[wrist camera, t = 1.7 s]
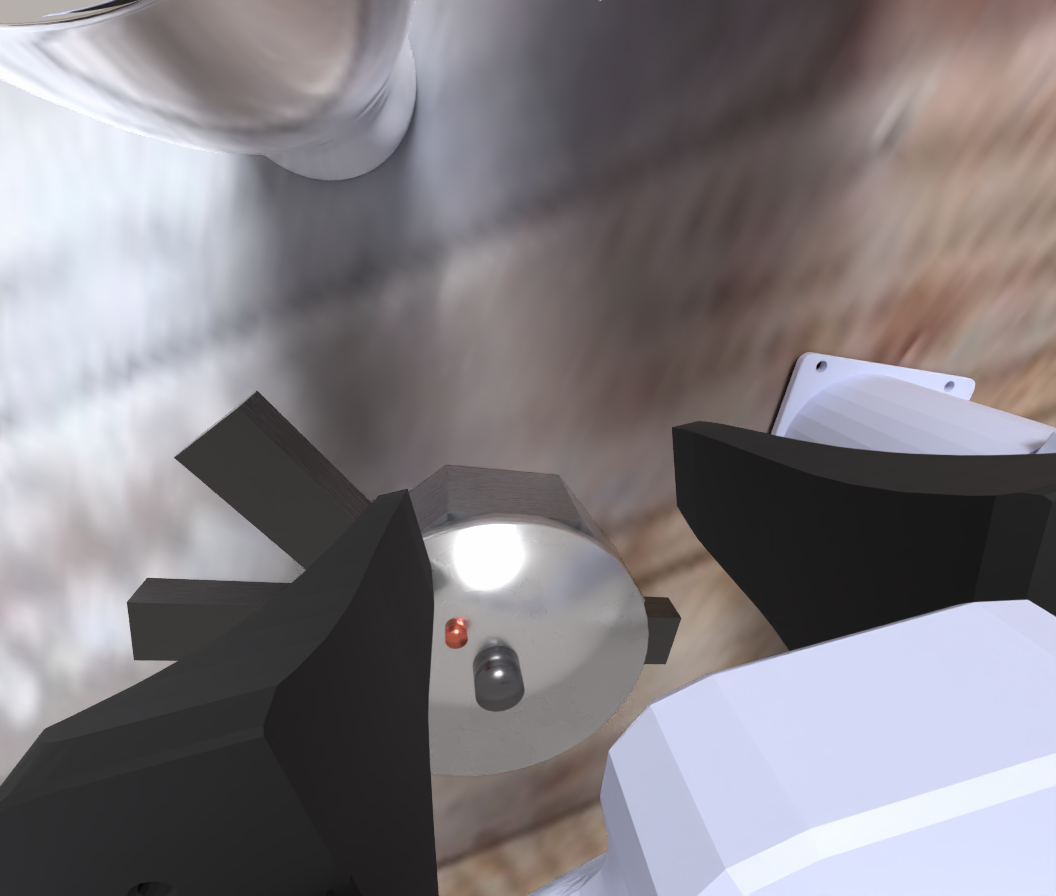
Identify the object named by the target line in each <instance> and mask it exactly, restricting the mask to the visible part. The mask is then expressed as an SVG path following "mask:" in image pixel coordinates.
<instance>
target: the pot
mask: <svg viewBox="0 0 1056 896" xmlns="http://www.w3.org/2000/svg"><path fill="white" fill-rule="evenodd" d="M409 495H410V498H411V501H412V505H413V508H414V511H415V515H416V518H417V521H418V524H419V528H420V531H421V532H422V531H424V530H427V529H429V528H431V527H434V526H437V525H440V524H443V523H446V522H449V521H452V520H456V519H461V518H465V517H470V516H475V515H485V514H494V513H516V514H526V515H534V516H541V517H545V518H549V519H553V520H556V521H560V522H563V523H565V524H568V525H570V526H573V527H575V528H578V529H580V530H582V531H583V532H585V533H587V534H588V535H590V536H592V537H594V538H595V539H597V540H598V541H599V542H600V543H602V544H603V545H604V546H605V547H607V548H608V549H609V550H610V551H611V552H612V553H613V554H614V555H615V556H616V557H617V558H618V560H619V561H620V562H621V563H622V565H623V566H624V568H625V569H626V571H627V572H628V574H629V575H630V577H631V579H632V580H633V578H632V576H631V574H630V573H629V571H628V569H627V568H626V566H625V564H624V562H623V561H622V559H621V557H620V555H619V554H618V552H617V550H616V549H615V547H614V546H613V545H612V543H611V542H610V541H609V539H608V538H607V537H606V536H605V534H604V533H603V532H602V530H601V529H600V528H599V526H598V525H597V524H596V523H595V521H594V520H593V519H592V517H591V516H590V515H589V514H588V512H587V511H586V510H585V508H584V507H583V506H582V505H581V503H580V502H579V501H578V499H577V498H576V497H575V496H574V494H573V493H572V492H571V490H570V489H569V488H568V487H567V485H566V484H565V483H564V481H563V480H562V479H561V478H560V476H559V475H552V474H541V473H530V472H519V471H508V470H496V469H485V468H474V467H463V466H452V465H446V466H444V467H443V468H442V469H440V470H439V471H438V472H436V473H435V474H433V475H432V476H431V477H429V478H428V479H427V480H425V481H424V482H423V483H421V484H420V485H418V486H417V487H416V488H414V489H413V490H412V491H410V492H409ZM633 582H634V584H635V585H636V583H635V581H634V580H633ZM290 584H291V583H269V582H242V581H216V580H189V579H163V578H147V579H146V580H145V581H144V582H143V584H142V585H141V586H140V587H139V588H138V590H137V591H136V592H135V593H134V594H133V596H132V597H131V598H130V599H129V600H128V602H127V606H128V615H129V623H130V631H131V639H132V647H133V655H134V660H167V661H179V660H181V659H183V658H184V657H186V656H188V655H189V654H191V653H193V652H194V651H196V650H198V649H199V648H201V647H203V646H204V645H206V644H207V643H209V642H211V641H212V640H214V639H215V638H217V637H218V636H220V635H221V634H223V633H224V632H226V631H227V630H229V629H230V628H232V627H233V626H234V625H236V624H237V623H239V622H240V621H242V620H243V619H245V618H246V617H248V616H249V615H251V614H252V613H254V612H255V611H256V610H258V609H259V608H261V607H262V606H263V605H265V604H266V603H267V602H269V601H270V600H271V599H272V598H274V597H275V596H276V595H277V594H279V593H280V592H281V591H282V590H284V589H285V588H286V587H288V586H289V585H290ZM636 587H637V585H636ZM637 589H638V591H639V594H640V596H641V598H642V601H643V603H644V607H645V611H646V615H647V619H648V632H649V636H648V647H647V653H646V657H645V661H644V664H666V662H667V659H668V656H669V653H670V650H671V647H672V644H673V641H674V638H675V635H676V632H677V629H678V626H679V623H680V620H681V617H680V615H679V614H678V612H677V611H676V609H675V608H674V606H673V604H672V603H671V601H670V600H669V598H665V597H643V595H642V593H641V592H640V590H639V588H638V587H637Z"/></svg>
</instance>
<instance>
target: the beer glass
mask: <svg viewBox="0 0 1056 896" xmlns="http://www.w3.org/2000/svg"><path fill="white" fill-rule="evenodd" d="M415 4H416V0H0V80H2V81H4V82H7V83H9V84H11V85H13V86H15V87H17V88H19V89H22V90H24V91H26V92H28V93H31V94H33V95H35V96H38V97H40V98H43V99H45V100H48V101H50V102H53V103H55V104H58V105H60V106H63V107H65V108H68V109H70V110H73V111H75V112H78V113H80V114H83V115H85V116H88V117H90V118H93V119H95V120H98V121H100V122H103V123H106V124H108V125H111V126H113V127H116V128H119V129H122V130H125V131H128V132H132V133H135V134H138V135H142V136H146V137H149V138H153V139H157V140H160V141H164V142H168V143H171V144H175V145H179V146H183V147H187V148H191V149H196V150H200V151H207V152H214V153H224V154H251V155H265V156H266V157H267V158H269V159H270V160H272V161H273V162H275V163H276V164H278V165H280V166H281V167H283V168H285V169H287V170H289V171H291V172H294V173H296V174H299V175H302V176H305V177H309V178H313V179H319V180H344V179H350V178H354V177H357V176H360V175H363V174H365V173H367V172H369V171H371V170H373V169H374V168H376V167H378V166H379V165H380V164H382V163H383V162H384V161H385V160H386V159H387V158H388V157H389V156H390V155H391V154H392V153H393V152H394V151H395V150H396V148H397V147H398V145H399V144H400V142H401V141H402V139H403V137H404V136H405V134H406V131H407V129H408V127H409V124H410V121H411V118H412V115H413V110H414V105H415V99H416V70H415V63H414V58H413V53H412V49H411V45H410V42H409V39H408V33H409V29H410V25H411V20H412V16H413V12H414V8H415Z"/></svg>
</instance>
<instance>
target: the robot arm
mask: <svg viewBox="0 0 1056 896" xmlns="http://www.w3.org/2000/svg"><path fill="white" fill-rule="evenodd" d="M820 361H821V366H820V367H819V369H817V370H816V366H817V364H818V363H819V362H820ZM946 383H947V384H946ZM945 385H946V386H945ZM974 388H975V382H974V381H973V380H972V379H970V378H966V377H961V376H955V375H949V374H943V373H936V372H930V371H924V370H918V369H912V368H905V367H899V366H893V365H887V364H881V363H874V362H868V361H862V360H856V359H850V358H843V357H837V356H831V355H825V354H819V353H812V352H806V353H804V354H802V355H801V356H800V357H799V359H798V361H797V363H796V365H795V368H794V371H793V374H792V377H791V379H790V382H789V385H788V388H787V390H786V393H785V396H784V399H783V402H782V404H781V407H780V410H779V413H778V416H777V418H776V421H775V424H774V427H773V429H772V432H771V434H767V433H762V432H757V431H753V430H748V429H743V428H739V427H734V426H729V425H724V424H718V423H712V422H701V421H697V422H693V423H689V424H684V425H680V426H676V427H672V435H673V450H674V465H675V481H676V496H677V506H678V508H679V510H680V511H681V513H682V515H683V516H684V518H685V520H686V521H687V523H688V525H689V526H690V528H691V529H692V531H693V532H694V534H695V535H696V537H697V538H698V540H699V541H700V542H701V543H702V544H703V546H704V547H705V548H706V549H707V550H708V551H709V553H710V554H711V555H712V556H713V557H714V558H715V560H716V561H717V562H718V563H719V564H720V565H721V567H722V568H723V569H724V570H725V571H726V572H727V573H728V575H729V576H730V577H731V578H732V579H733V580H734V581H735V583H736V584H737V585H738V586H739V587H740V588H741V589H742V591H743V592H744V593H745V594H746V595H747V596H748V597H749V599H750V600H751V601H752V602H753V603H754V604H755V605H756V607H757V608H758V609H759V610H760V611H761V613H762V614H763V615H764V616H765V618H766V619H767V620H768V621H769V623H770V624H771V625H772V626H773V628H774V629H775V631H776V632H777V633H778V635H779V636H780V638H781V639H782V641H783V642H784V644H785V645H786V646H787V648H788V649H789V652H785V653H781V654H778V655H774V656H771V657H767V658H763V659H760V660H756V661H753V662H749V663H745V664H742V665H738V666H735V667H731V668H727V669H724V670H720V671H717V672H713V673H709V674H706V675H704V676H702V677H700V678H698V679H696V680H694V681H692V682H690V683H688V684H685V685H683V686H681V687H679V688H677V689H675V690H673V691H671V692H669V693H667V694H665V695H663V696H661V697H659V698H657V699H655V700H653V701H652V702H651V703H650V704H649V705H648V706H647V707H646V708H645V709H644V710H643V712H642V713H641V714H640V715H639V716H638V717H637V718H636V719H635V720H634V721H633V723H632V724H631V725H630V726H629V727H628V728H627V729H626V730H625V731H624V733H623V734H622V735H621V736H620V737H619V738H618V739H617V740H616V742H615V743H614V744H613V746H612V747H611V749H610V750H609V753H608V758H607V763H606V768H605V773H604V778H603V783H602V788H601V793H600V800H601V806H602V811H603V817H604V822H605V827H606V833H607V838H608V842H607V851H606V852H605V853H603V854H601V855H599V856H597V857H595V858H594V859H592V860H590V861H588V862H586V863H585V864H583V865H581V866H579V867H577V868H575V869H574V870H572V871H570V872H568V873H566V874H565V875H563V876H561V877H559V878H557V879H555V880H554V881H552V882H550V883H548V884H546V885H544V886H543V887H541V888H539V889H537V890H535V891H534V892H532V893H530V894H528V895H526V896H1056V428H1055V427H1052V426H1049V425H1046V424H1042V423H1039V422H1036V421H1033V420H1030V419H1026V418H1023V417H1020V416H1017V415H1013V414H1010V413H1007V412H1004V411H1001V410H997V409H994V408H991V407H988V406H984V405H981V404H978V403H975V402H971V401H969V399H970V397H971V395H972V393H973V391H974ZM433 623H434V591H433V579H432V567H431V563H430V560H429V557H428V554H427V550H426V547H425V544H424V541H423V537H422V534H421V531H420V528H419V524H418V521H417V518H416V515H415V511H414V508H413V505H412V501H411V498H410V495H409V492H408V489H405V490H401V491H396V492H392V493H388V494H384V495H379V496H378V497H377V498H376V499H375V500H374V501H373V502H372V503H371V504H370V505H369V506H368V507H367V508H366V509H365V510H364V511H363V513H362V514H361V515H360V516H359V517H358V518H357V519H356V520H355V521H354V522H353V524H352V525H351V526H350V527H349V528H348V529H347V530H346V531H345V532H344V533H343V534H342V535H341V536H340V538H339V539H338V540H337V541H336V542H335V543H334V544H333V545H332V546H331V547H330V548H329V549H328V550H327V551H326V552H325V553H324V554H322V555H321V556H320V557H319V558H318V559H317V560H316V561H315V562H314V563H313V564H312V565H311V566H310V567H309V568H308V569H307V570H306V571H305V572H304V573H303V574H302V575H300V576H299V577H298V578H297V579H296V580H295V581H293V582H292V583H291V584H290V585H289V586H288V587H286V588H285V589H284V590H282V591H281V592H280V593H279V594H277V595H276V596H275V597H274V598H272V599H271V600H270V601H269V602H267V603H266V604H265V605H263V606H262V607H261V608H259V609H258V610H256V611H255V612H254V613H252V614H251V615H249V616H248V617H246V618H245V619H243V620H242V621H240V622H239V623H237V624H236V625H234V626H233V627H232V628H230V629H229V630H227V631H226V632H224V633H223V634H221V635H220V636H218V637H217V638H215V639H214V640H212V641H211V642H209V643H207V644H206V645H204V646H203V647H201V648H199V649H198V650H196V651H194V652H193V653H191V654H189V655H188V656H186V657H184V658H183V659H181V660H179V661H177V662H176V663H174V664H172V665H170V666H168V667H167V668H165V669H163V670H161V671H160V672H158V673H156V674H154V675H152V676H151V677H149V678H147V679H145V680H143V681H141V682H139V683H137V684H136V685H134V686H132V687H130V688H128V689H126V690H124V691H122V692H120V693H118V694H116V695H114V696H112V697H110V698H108V699H106V700H104V701H101V702H99V703H97V704H95V705H93V706H91V707H89V708H87V709H85V710H83V711H81V712H79V713H77V714H75V715H73V716H71V717H69V718H67V719H65V720H63V721H61V722H58V723H56V724H54V725H52V726H50V727H48V728H46V729H45V730H44V731H43V732H42V733H41V734H40V735H39V737H38V738H37V739H36V741H35V742H34V743H33V745H32V746H31V747H30V748H29V750H28V751H27V752H26V754H25V755H24V756H23V757H22V759H21V760H20V761H19V763H18V764H17V765H16V767H15V768H14V769H13V770H12V772H11V773H10V774H9V776H8V777H7V778H6V779H5V781H4V782H3V783H2V785H1V786H0V896H439V894H438V880H437V866H436V852H435V837H434V823H433V805H432V788H431V770H430V747H429V724H428V710H429V686H430V670H431V655H432V640H433Z"/></svg>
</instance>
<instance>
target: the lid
mask: <svg viewBox="0 0 1056 896" xmlns="http://www.w3.org/2000/svg"><path fill="white" fill-rule="evenodd" d="M174 458H175V459H176V460H178V461H179V462H180V463H181V464H182V465H183V466H185V467H186V468H187V469H188V470H189V471H191V472H192V473H193V474H194V475H195V476H196V477H198V478H199V479H200V480H201V481H202V482H203V483H205V484H206V485H207V486H208V487H209V488H211V489H212V490H213V491H214V492H215V493H216V494H218V495H219V496H220V497H221V498H222V499H224V500H225V501H226V502H227V503H228V504H229V505H231V506H232V507H233V508H234V509H235V510H236V511H238V512H239V513H240V514H241V515H242V516H244V517H245V518H246V519H247V520H248V521H249V522H251V523H252V524H253V525H254V526H255V527H257V528H258V529H259V530H260V531H261V532H262V533H264V534H265V535H266V536H267V537H268V538H269V539H271V540H272V541H273V542H274V543H275V544H277V545H278V546H279V547H280V548H281V549H282V550H284V551H285V552H286V553H287V554H288V555H290V556H291V557H292V558H293V559H294V560H295V561H297V562H298V563H299V564H300V565H301V566H302V567H304V568H305V569H306V570H307V569H308V568H309V567H310V566H311V565H312V564H313V563H314V562H315V561H316V560H317V559H318V558H319V557H320V556H321V555H322V554H324V553H325V552H326V551H327V550H328V549H329V548H330V547H331V546H332V545H333V544H334V543H335V542H336V541H337V540H338V539H339V538H340V536H341V535H342V534H343V533H344V532H345V531H346V530H347V529H348V528H349V527H350V526H351V525H352V524H353V522H354V521H355V520H356V519H357V518H358V517H359V516H360V515H361V514H362V513H363V511H364V510H365V509H366V508H367V507H368V506H369V505H370V504H371V502H370V501H369V500H368V499H367V498H366V497H365V496H364V495H363V494H362V493H361V492H359V491H358V490H357V489H356V488H355V487H354V486H353V485H352V484H351V483H350V482H349V481H348V480H347V479H346V478H345V477H344V476H343V475H342V474H341V473H340V472H339V471H338V470H337V469H336V468H335V467H334V466H333V465H332V464H331V463H330V462H329V461H328V460H327V459H326V458H325V457H324V456H323V455H322V454H321V453H320V452H319V451H318V450H317V449H316V448H315V447H314V446H313V445H312V444H311V443H310V442H309V441H308V440H307V439H306V438H305V437H304V436H303V435H302V434H301V433H300V432H299V431H298V430H297V429H296V428H295V427H294V426H293V425H292V424H290V423H289V422H288V421H287V420H286V419H285V418H284V417H283V416H282V415H281V414H280V413H279V412H278V411H277V410H276V409H275V408H274V407H273V406H272V405H271V404H270V403H269V402H268V401H267V400H266V399H265V398H264V397H263V396H262V395H261V394H260V393H259V392H258V391H256V392H255V393H254V394H252V395H251V396H250V397H248V398H247V399H246V400H245V401H243V402H242V403H241V404H239V405H238V406H237V407H236V408H234V409H233V410H232V411H231V412H229V413H228V414H227V415H225V416H224V417H223V418H222V419H220V420H219V421H218V422H216V423H215V424H214V425H213V426H211V427H210V428H209V429H208V430H206V431H205V432H204V433H202V434H201V435H200V436H199V437H197V438H196V439H195V440H194V441H193V442H192V443H190V444H189V445H188V446H187V447H186V448H185V449H183V450H182V451H181V452H180V453H179V454H178V455H176V456H175V457H174ZM421 534H422V537H423V541H424V544H425V547H426V550H427V554H428V557H429V560H430V563H431V567H432V579H433V591H434V623H433V640H432V655H431V670H430V686H429V710H428V724H429V747H430V770H431V773H435V774H442V775H451V776H481V775H493V774H499V773H504V772H510V771H514V770H518V769H522V768H525V767H529V766H532V765H535V764H538V763H540V762H543V761H546V760H548V759H551V758H553V757H555V756H557V755H559V754H561V753H563V752H565V751H567V750H569V749H570V748H572V747H574V746H576V745H577V744H579V743H581V742H582V741H583V740H585V739H586V738H588V737H589V736H590V735H592V734H593V733H594V732H596V731H597V730H598V729H599V728H600V727H601V726H602V725H604V724H605V723H606V722H607V721H608V720H609V719H610V718H611V717H612V716H613V715H614V714H615V712H616V711H617V710H618V709H619V708H620V707H621V705H622V704H623V703H624V701H625V700H626V699H627V697H628V696H629V694H630V693H631V691H632V689H633V687H634V686H635V684H636V682H637V680H638V678H639V675H640V673H641V670H642V668H643V665H644V661H645V657H646V653H647V647H648V636H649V632H648V619H647V615H646V611H645V607H644V603H643V601H642V598H641V596H640V594H639V591H638V589H637V587H636V585H635V584H634V582H633V580H632V579H631V577H630V575H629V574H628V572H627V571H626V569H625V568H624V566H623V565H622V563H621V562H620V561H619V560H618V558H617V557H616V556H615V555H614V554H613V553H612V552H611V551H610V550H609V549H608V548H607V547H605V546H604V545H603V544H602V543H600V542H599V541H598V540H597V539H595V538H594V537H592V536H590V535H588V534H587V533H585V532H583V531H582V530H580V529H578V528H575V527H573V526H570V525H568V524H565V523H563V522H560V521H556V520H553V519H549V518H545V517H541V516H534V515H526V514H516V513H494V514H485V515H475V516H470V517H465V518H461V519H456V520H452V521H449V522H446V523H443V524H440V525H437V526H434V527H431V528H429V529H427V530H424V531H422V532H421Z"/></svg>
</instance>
